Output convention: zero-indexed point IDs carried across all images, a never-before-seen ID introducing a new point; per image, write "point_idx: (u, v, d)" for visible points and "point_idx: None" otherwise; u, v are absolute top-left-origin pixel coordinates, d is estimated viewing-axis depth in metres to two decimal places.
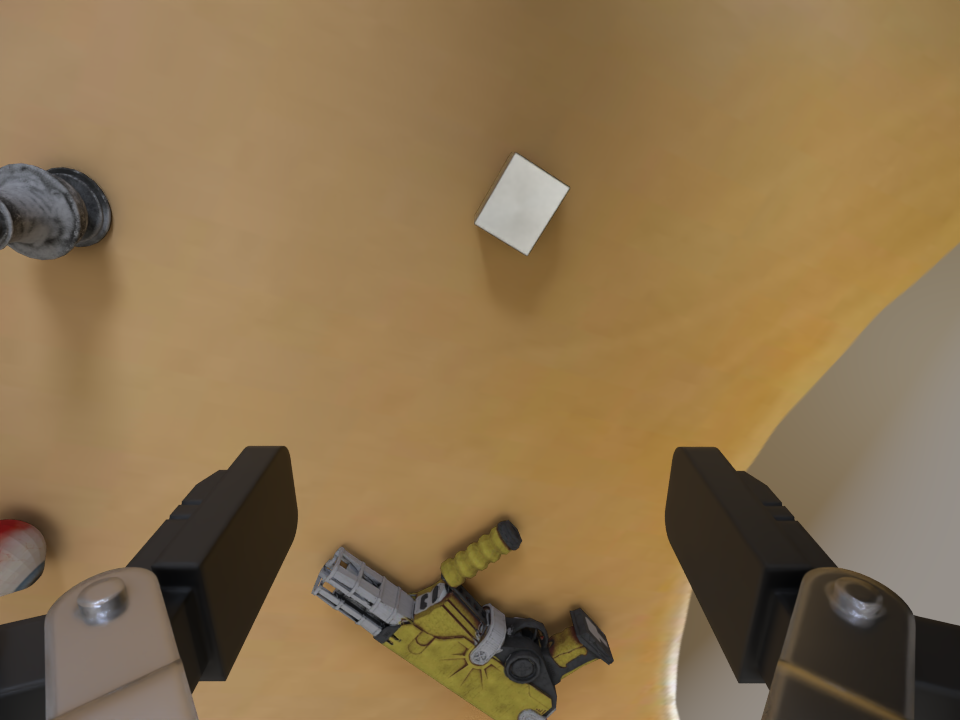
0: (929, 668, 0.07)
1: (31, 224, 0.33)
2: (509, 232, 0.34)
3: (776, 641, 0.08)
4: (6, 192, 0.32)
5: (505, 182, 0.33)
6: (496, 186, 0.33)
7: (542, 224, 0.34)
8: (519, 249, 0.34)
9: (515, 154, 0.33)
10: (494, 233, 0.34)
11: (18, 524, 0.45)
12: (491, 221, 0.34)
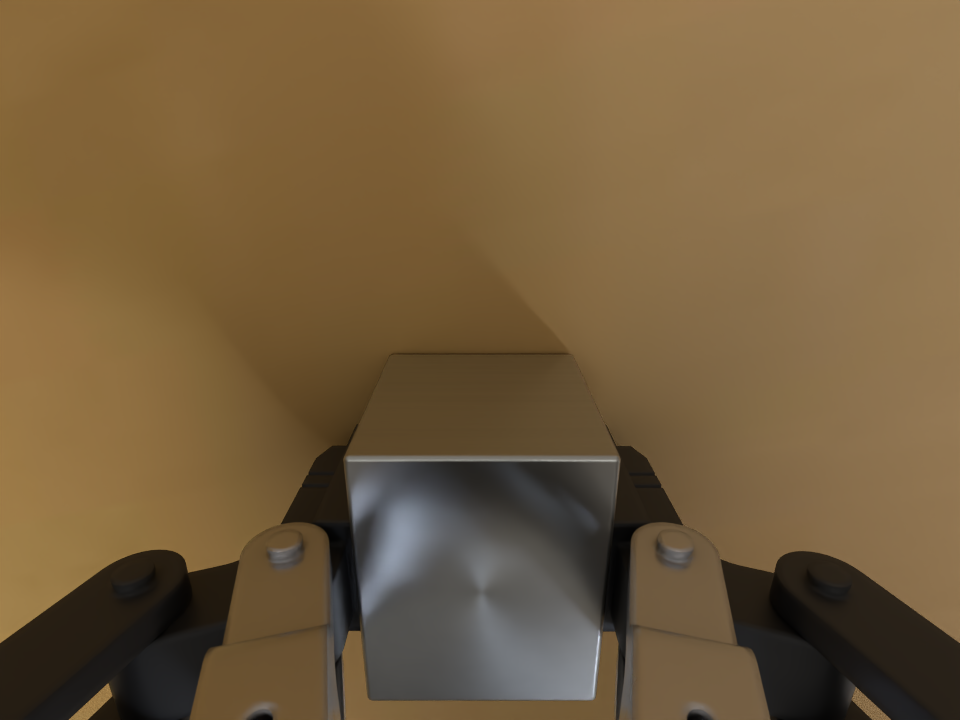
0: (730, 605, 0.07)
1: None
2: (467, 497, 0.08)
3: (619, 589, 0.09)
4: None
5: (578, 624, 0.09)
6: (602, 599, 0.09)
7: (372, 579, 0.09)
8: (390, 464, 0.08)
9: (591, 696, 0.09)
10: (521, 467, 0.08)
11: None
12: (558, 499, 0.08)
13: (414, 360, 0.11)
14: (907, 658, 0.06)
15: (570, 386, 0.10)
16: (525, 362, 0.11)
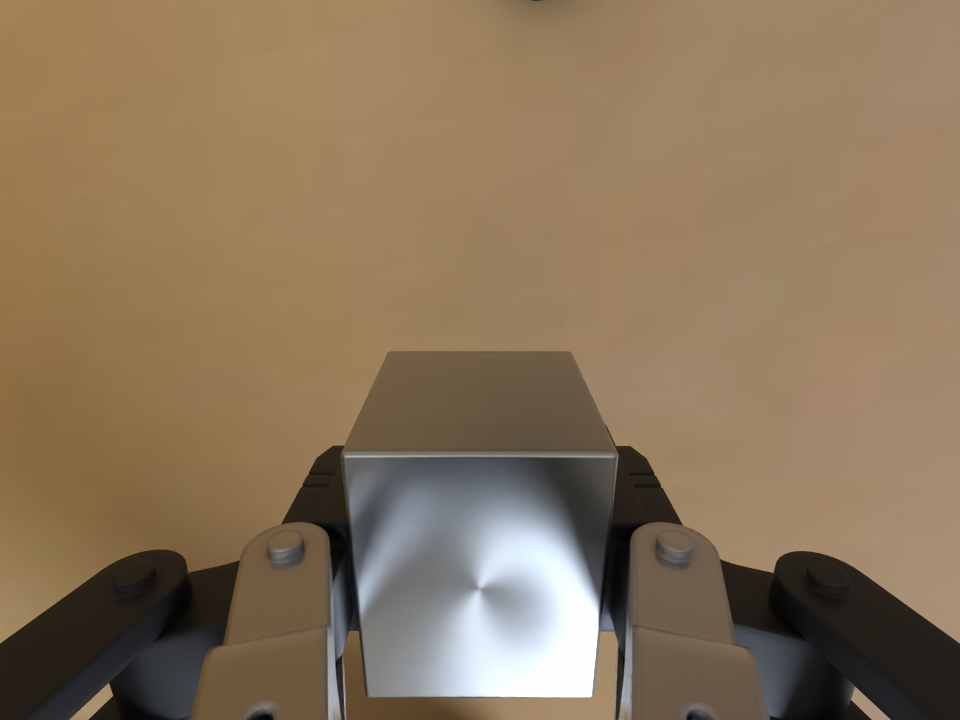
0: (729, 605, 0.07)
1: None
2: (464, 492, 0.08)
3: (618, 589, 0.09)
4: None
5: (575, 621, 0.09)
6: (600, 596, 0.09)
7: (370, 575, 0.08)
8: (388, 460, 0.08)
9: (589, 693, 0.09)
10: (519, 463, 0.08)
11: None
12: (556, 494, 0.08)
13: (412, 357, 0.11)
14: (906, 658, 0.06)
15: (568, 383, 0.10)
16: (523, 359, 0.11)
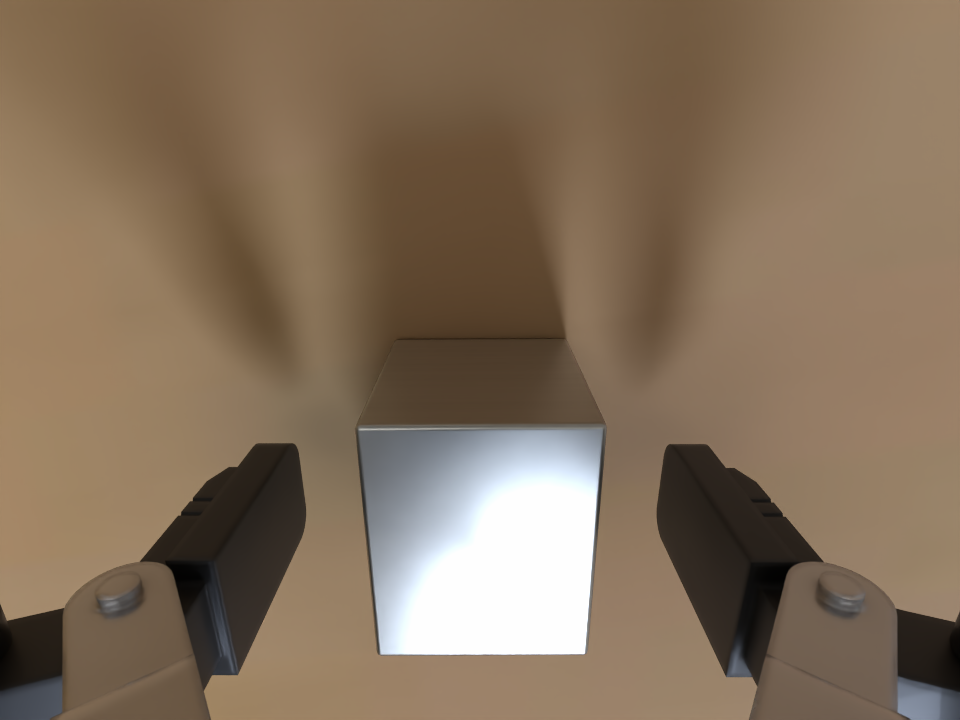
0: (911, 660, 0.07)
1: None
2: (467, 463, 0.09)
3: (762, 635, 0.08)
4: None
5: (570, 581, 0.10)
6: (592, 558, 0.09)
7: (381, 539, 0.09)
8: (398, 432, 0.09)
9: (583, 650, 0.10)
10: (517, 434, 0.09)
11: None
12: (550, 464, 0.09)
13: (418, 344, 0.12)
14: None
15: (563, 366, 0.11)
16: (521, 345, 0.12)
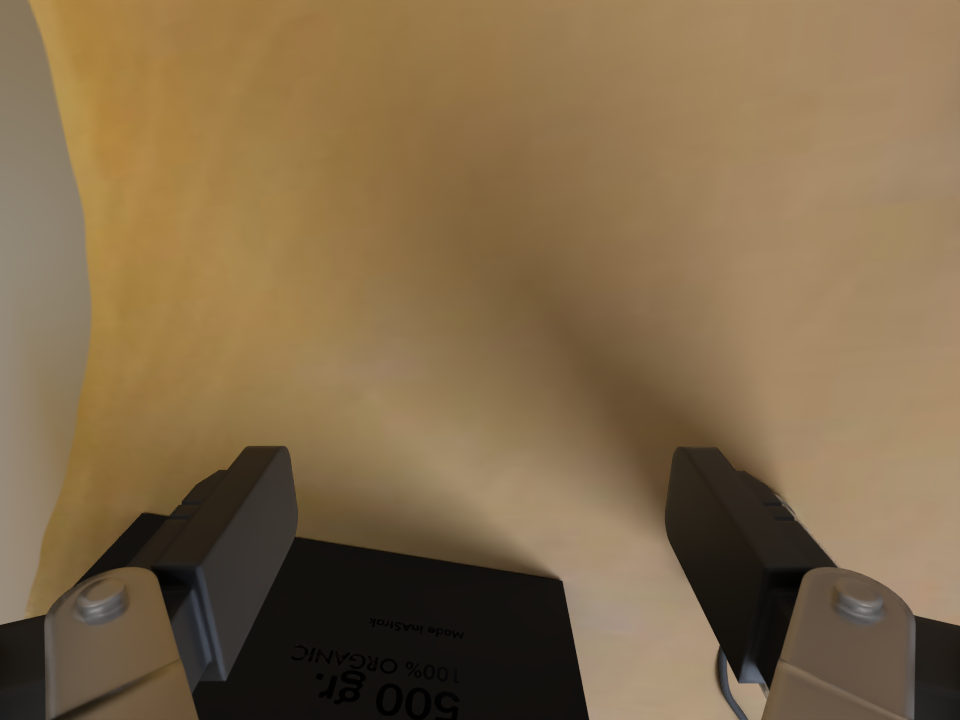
0: (929, 668, 0.07)
1: None
2: None
3: (776, 641, 0.08)
4: None
5: None
6: None
7: None
8: None
9: None
10: None
11: None
12: None
13: None
14: None
15: None
16: None
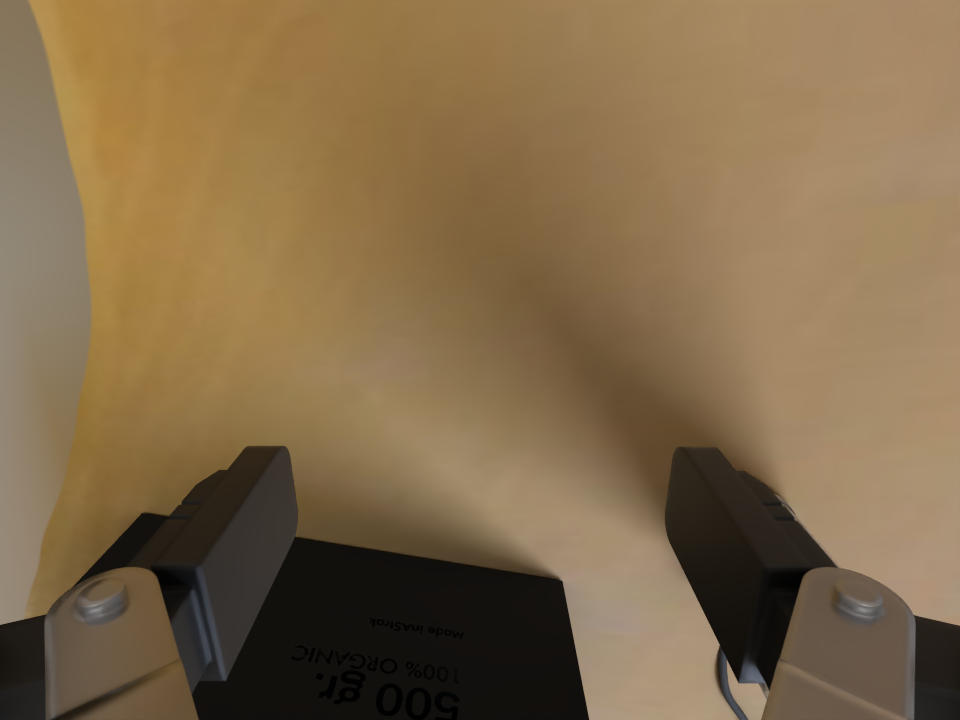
0: (929, 668, 0.07)
1: None
2: None
3: (776, 641, 0.08)
4: None
5: None
6: None
7: None
8: None
9: None
10: None
11: None
12: None
13: None
14: None
15: None
16: None
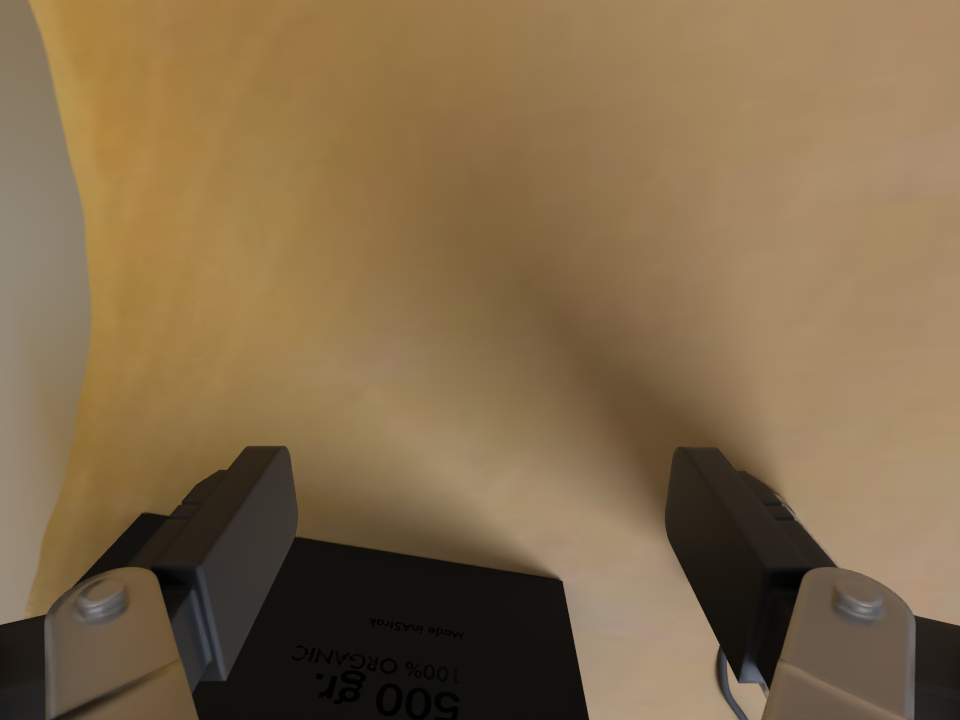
0: (929, 668, 0.07)
1: None
2: None
3: (776, 641, 0.08)
4: None
5: None
6: None
7: None
8: None
9: None
10: None
11: None
12: None
13: None
14: None
15: None
16: None
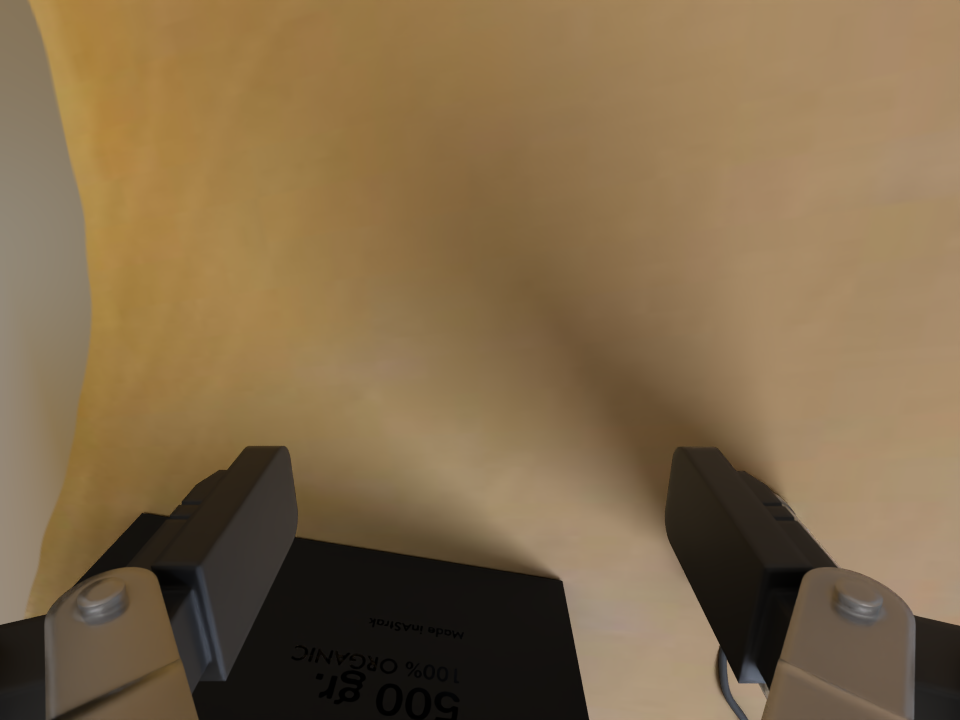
0: (929, 668, 0.07)
1: None
2: None
3: (776, 641, 0.08)
4: None
5: None
6: None
7: None
8: None
9: None
10: None
11: None
12: None
13: None
14: None
15: None
16: None
